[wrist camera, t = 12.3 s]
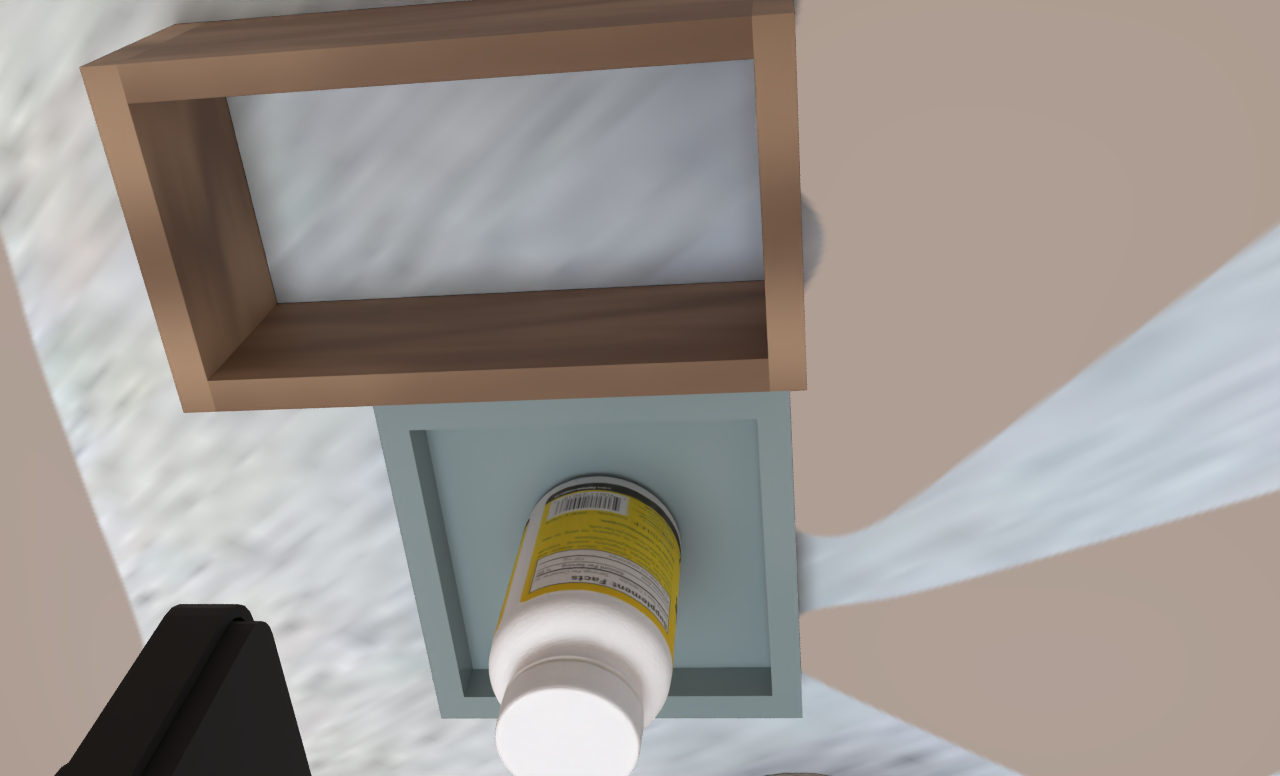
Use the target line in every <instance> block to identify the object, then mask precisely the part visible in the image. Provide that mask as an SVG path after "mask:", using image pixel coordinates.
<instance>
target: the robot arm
mask: <svg viewBox="0 0 1280 776" xmlns="http://www.w3.org/2000/svg"><path fill="white" fill-rule="evenodd" d="M55 776H311V772H310V769H309V765H308V761H307V758H306V754H305V750H304V747H303V743H302V739H301V736H300V732H299V729H298V725H297V721H296V718H295V714H294V710H293V707H292V703H291V699H290V696H289V692H288V688H287V685H286V681H285V677H284V674H283V670H282V666H281V663H280V659H279V656H278V652H277V648H276V645H275V641H274V637H273V634H272V631H271V629H270V627H269V625H268V624H267V623H266V622H262V621H254V620H253V618H252V615H251V613H250V611H249V610H248V609H247V608H246V607H245V606H243V605H239V604H179V605H177V606H174V607H172V608H171V609H170V610H169V611H168V613H167V614H166V615H165V616H164V618H163V619H162V621H161V622H160V624H159V625H158V627H157V628H156V630H155V631H154V633H153V635H152V636H151V638H150V639H149V641H148V642H147V644H146V645H145V647H144V648H143V650H142V651H141V653H140V654H139V656H138V657H137V659H136V661H135V662H134V664H133V665H132V667H131V668H130V670H129V671H128V673H127V674H126V676H125V677H124V679H123V680H122V682H121V683H120V685H119V687H118V688H117V690H116V691H115V693H114V694H113V696H112V697H111V699H110V700H109V702H108V703H107V705H106V706H105V708H104V709H103V711H102V712H101V714H100V716H99V717H98V719H97V720H96V722H95V724H94V725H93V726H92V728H91V729H90V731H89V732H88V734H87V736H86V737H85V739H84V740H83V742H82V743H81V745H80V746H79V748H78V749H77V751H76V752H75V754H74V755H73V757H72V758H71V760H70V761H69V763H67V764H66V765H64V766H63V767H61V768H60V770H59V771H58V772H57V773H56V774H55Z"/></svg>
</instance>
